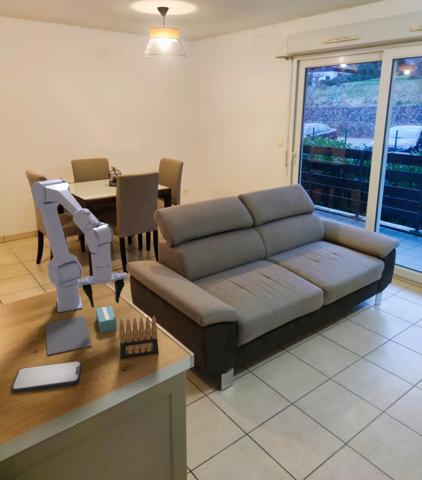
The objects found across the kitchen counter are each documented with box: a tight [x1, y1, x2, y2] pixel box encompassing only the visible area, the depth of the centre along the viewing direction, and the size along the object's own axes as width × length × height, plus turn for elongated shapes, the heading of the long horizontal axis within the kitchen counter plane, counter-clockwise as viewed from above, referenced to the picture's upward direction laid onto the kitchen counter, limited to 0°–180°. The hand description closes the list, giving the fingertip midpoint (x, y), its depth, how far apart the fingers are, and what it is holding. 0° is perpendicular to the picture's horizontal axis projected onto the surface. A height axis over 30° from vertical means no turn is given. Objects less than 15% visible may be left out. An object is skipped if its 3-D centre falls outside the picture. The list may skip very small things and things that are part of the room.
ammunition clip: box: [118, 315, 160, 360], centre depth 108 cm, size 11×2×12 cm, turn 105°
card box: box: [95, 305, 118, 333], centre depth 124 cm, size 9×5×4 cm, turn 23°
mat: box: [45, 315, 92, 356], centre depth 118 cm, size 18×12×1 cm, turn 24°
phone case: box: [11, 360, 83, 394], centre depth 100 cm, size 9×2×16 cm
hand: (104, 303), depth 122 cm, fingers open, 7 cm apart
